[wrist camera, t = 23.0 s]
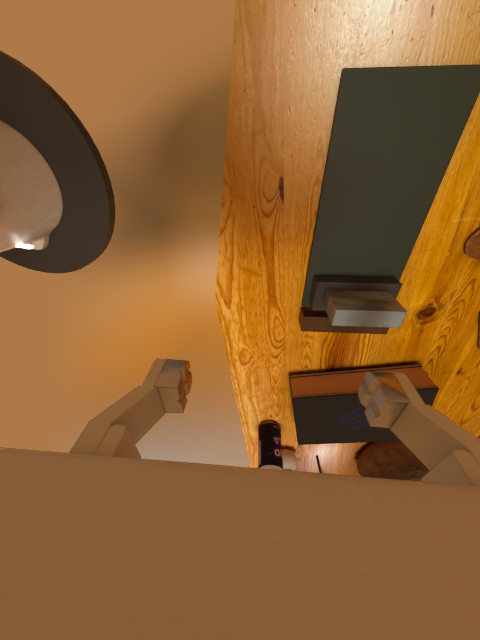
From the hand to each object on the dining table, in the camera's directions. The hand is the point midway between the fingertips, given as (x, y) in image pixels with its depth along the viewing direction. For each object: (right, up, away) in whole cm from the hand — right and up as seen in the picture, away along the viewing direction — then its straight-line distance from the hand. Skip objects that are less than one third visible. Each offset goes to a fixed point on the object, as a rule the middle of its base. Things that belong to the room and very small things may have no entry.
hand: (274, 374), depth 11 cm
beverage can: (+6, -25, +52) cm, 58 cm away
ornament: (+11, -36, +59) cm, 70 cm away
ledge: (+16, +3, +30) cm, 34 cm away
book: (+23, -14, +42) cm, 50 cm away
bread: (+46, -36, +56) cm, 81 cm away
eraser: (+16, +7, +26) cm, 32 cm away
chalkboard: (+16, +16, +21) cm, 31 cm away
